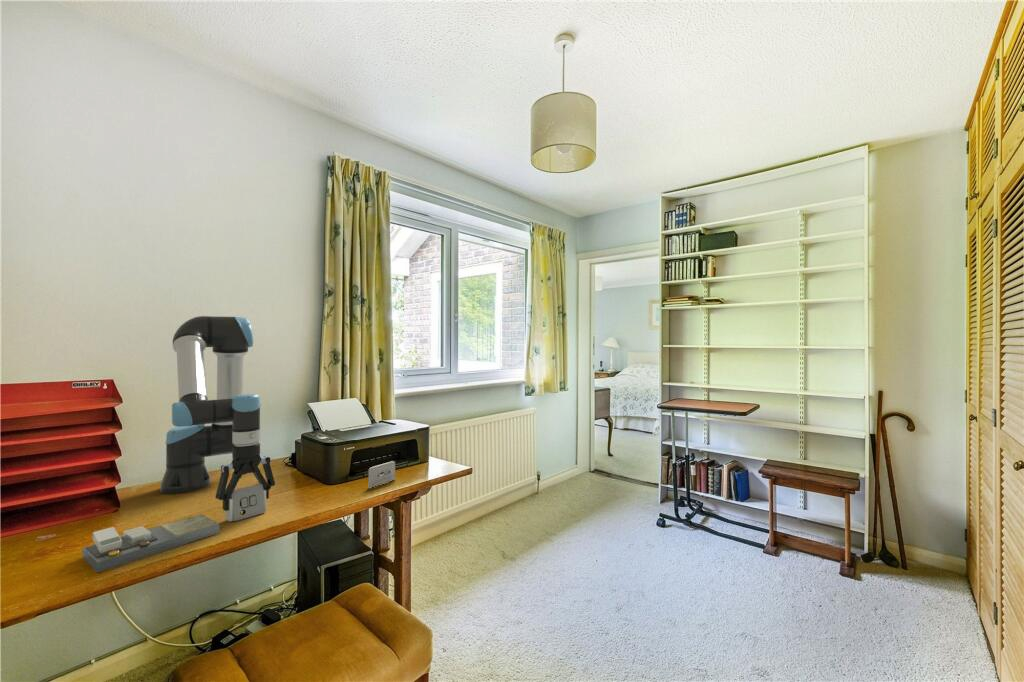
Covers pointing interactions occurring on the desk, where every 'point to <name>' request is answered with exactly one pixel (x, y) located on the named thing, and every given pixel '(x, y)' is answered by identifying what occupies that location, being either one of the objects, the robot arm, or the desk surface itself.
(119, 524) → the desk surface
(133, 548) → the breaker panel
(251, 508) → the electrical switch
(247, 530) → the desk surface
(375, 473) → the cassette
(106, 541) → the block
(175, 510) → the desk surface
